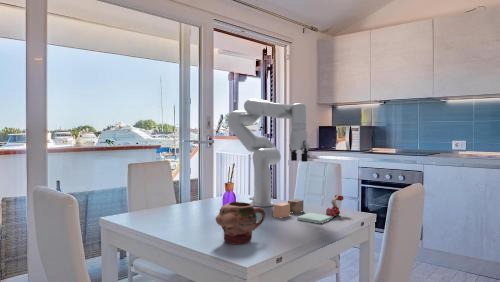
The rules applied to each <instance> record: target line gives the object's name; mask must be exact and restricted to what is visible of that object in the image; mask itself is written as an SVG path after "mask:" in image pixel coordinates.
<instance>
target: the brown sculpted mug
mask: <svg viewBox="0 0 500 282" xmlns="http://www.w3.org/2000/svg"><path fill="white" fill-rule="evenodd" d="M258 213H259V214H260V215H261V219H260V220H259V221H258V222H257V214H258ZM265 219H266V211H265V210H264V208H263V207H258V206H253V205H252V204H251V203H248V202H244V201H243V202H241V201H231V202H228V203H225V204H224V205H222V206H221V207H220V208H219V213H218V215H216V217H215V221H216V224H217V225H218V226H220V227H221V229H222V230H223V240H224V242H225V243H229V244H232V245H245V244H249V243H250V242H251V240H252V237H253V231H255V230H256V229H257V228H259V227H260V226H261V225H262V223H263V222H264V221H265Z"/></svg>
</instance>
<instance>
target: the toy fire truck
mask: <svg viewBox="0 0 500 282" xmlns="http://www.w3.org/2000/svg"><path fill="white" fill-rule="evenodd" d="M343 200H344V196H343V195H338V194H337V195H336V194H335V195H334V199H332V200H331V201H330V202H331V205H332V207H331V208H330V207H328V208H326V211H325V215H328V216H333V217H334V216H337V215H339V214H340V215H341V211H340V208H339V207H338V205H337V202H336V201H343ZM340 215H339V216H340ZM337 217H338V216H337ZM334 218H335V217H334Z"/></svg>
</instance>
